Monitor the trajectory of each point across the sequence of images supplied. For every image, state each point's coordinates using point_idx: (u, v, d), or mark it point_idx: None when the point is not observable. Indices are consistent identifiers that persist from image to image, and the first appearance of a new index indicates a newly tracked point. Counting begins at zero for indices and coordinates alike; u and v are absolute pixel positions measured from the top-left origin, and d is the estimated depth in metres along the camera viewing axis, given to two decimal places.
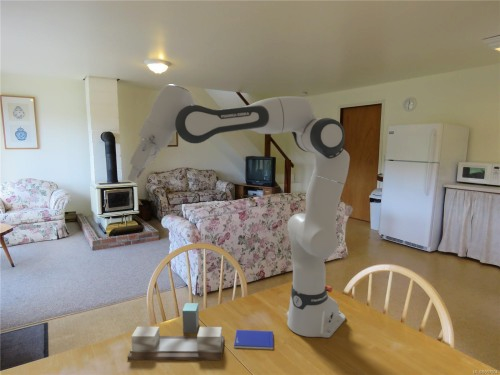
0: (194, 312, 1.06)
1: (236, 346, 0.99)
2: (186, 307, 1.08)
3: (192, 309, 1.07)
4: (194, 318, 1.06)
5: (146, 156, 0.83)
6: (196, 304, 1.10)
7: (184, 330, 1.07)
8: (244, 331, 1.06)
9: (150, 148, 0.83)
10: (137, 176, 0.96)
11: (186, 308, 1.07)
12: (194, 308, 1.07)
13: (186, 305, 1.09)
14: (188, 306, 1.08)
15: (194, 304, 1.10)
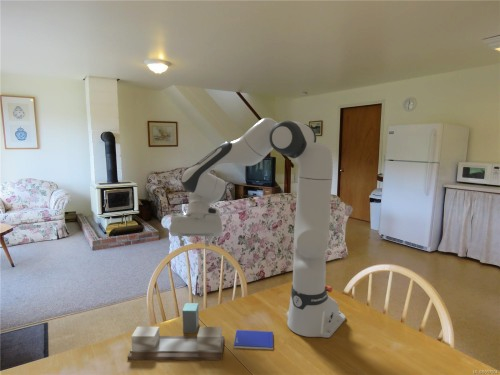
0: (194, 312, 1.06)
1: (236, 346, 0.99)
2: (186, 307, 1.08)
3: (192, 309, 1.07)
4: (194, 318, 1.07)
5: None
6: (196, 304, 1.10)
7: (184, 330, 1.07)
8: (244, 331, 1.06)
9: (173, 218, 1.23)
10: (205, 244, 1.18)
11: (186, 308, 1.07)
12: (194, 308, 1.08)
13: (186, 305, 1.09)
14: (188, 306, 1.08)
15: (194, 304, 1.10)
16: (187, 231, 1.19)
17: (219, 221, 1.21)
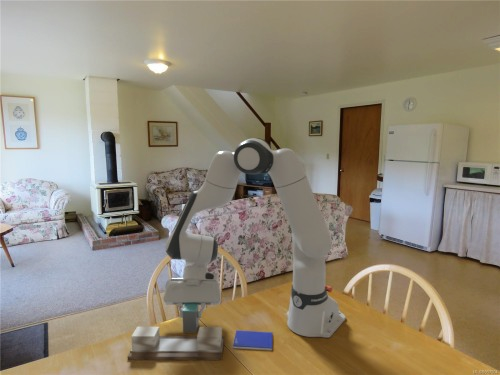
0: (194, 312, 1.06)
1: (235, 347, 0.99)
2: (186, 307, 1.08)
3: (192, 309, 1.07)
4: (194, 318, 1.06)
5: (165, 291, 1.12)
6: (196, 304, 1.10)
7: (184, 330, 1.07)
8: (243, 332, 1.06)
9: (167, 285, 1.14)
10: None
11: (186, 308, 1.07)
12: (194, 308, 1.07)
13: (186, 305, 1.09)
14: (188, 306, 1.08)
15: (194, 304, 1.10)
16: (182, 300, 1.10)
17: (217, 288, 1.12)
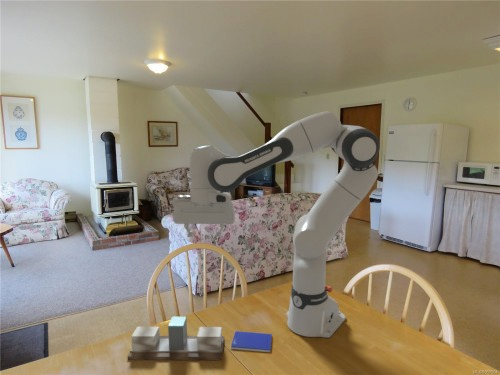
0: (181, 327, 0.95)
1: (233, 348, 0.99)
2: (172, 321, 0.97)
3: (179, 324, 0.96)
4: (181, 334, 0.95)
5: None
6: (184, 318, 0.99)
7: (170, 347, 0.96)
8: (243, 333, 1.05)
9: (174, 205, 1.02)
10: None
11: (172, 323, 0.96)
12: (181, 323, 0.96)
13: (173, 319, 0.98)
14: (175, 321, 0.97)
15: (181, 317, 0.99)
16: (194, 222, 1.02)
17: (230, 210, 1.01)
